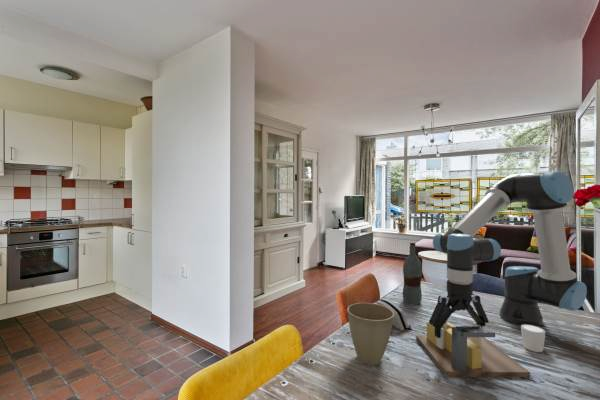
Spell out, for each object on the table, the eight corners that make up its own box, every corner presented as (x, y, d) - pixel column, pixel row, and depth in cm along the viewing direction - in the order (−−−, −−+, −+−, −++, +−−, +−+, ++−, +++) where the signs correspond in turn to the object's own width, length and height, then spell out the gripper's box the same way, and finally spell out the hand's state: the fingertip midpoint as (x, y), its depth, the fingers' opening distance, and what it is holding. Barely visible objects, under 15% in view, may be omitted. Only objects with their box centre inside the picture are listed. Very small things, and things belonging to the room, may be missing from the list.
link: (487, 367, 88) (487, 347, 88) (465, 369, 87) (466, 349, 87) (444, 336, 107) (445, 320, 107) (426, 338, 106) (426, 321, 106)
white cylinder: (539, 354, 98) (539, 334, 98) (516, 345, 104) (516, 326, 104) (549, 350, 101) (549, 330, 101) (526, 341, 107) (526, 322, 107)
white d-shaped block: (412, 329, 116) (405, 306, 115) (403, 334, 115) (396, 312, 114) (388, 313, 132) (382, 293, 131) (379, 317, 131) (373, 297, 130)
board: (483, 340, 108) (483, 336, 108) (529, 377, 86) (529, 372, 86) (416, 339, 108) (416, 335, 108) (445, 376, 86) (445, 371, 86)
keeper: (485, 369, 89) (486, 326, 89) (494, 377, 85) (495, 332, 85) (450, 369, 89) (451, 326, 89) (457, 377, 85) (458, 332, 85)
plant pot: (386, 378, 84) (386, 324, 84) (339, 362, 92) (340, 313, 92) (398, 355, 97) (398, 308, 97) (356, 342, 105) (356, 299, 105)
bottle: (399, 298, 151) (399, 241, 150) (415, 298, 152) (416, 241, 151) (407, 305, 141) (408, 244, 141) (425, 305, 142) (426, 244, 142)
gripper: (483, 276, 101) (482, 336, 101) (418, 279, 96) (417, 342, 96) (502, 282, 93) (500, 348, 93) (432, 286, 89) (431, 354, 89)
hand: (458, 345), depth 95 cm, fingers open, 13 cm apart
